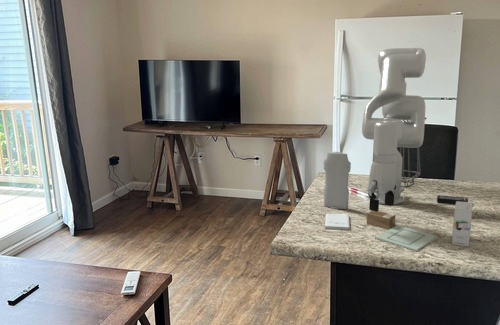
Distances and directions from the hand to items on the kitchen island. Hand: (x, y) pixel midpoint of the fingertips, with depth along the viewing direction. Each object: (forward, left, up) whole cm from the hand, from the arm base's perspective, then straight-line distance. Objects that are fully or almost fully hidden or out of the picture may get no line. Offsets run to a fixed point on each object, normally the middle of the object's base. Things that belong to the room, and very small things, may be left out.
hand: (381, 207), depth 153 cm
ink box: (-6, +25, -7) cm, 26 cm away
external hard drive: (+8, -12, -7) cm, 16 cm away
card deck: (-1, -1, -7) cm, 7 cm away
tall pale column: (-5, -22, -7) cm, 24 cm away
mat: (+4, +12, -7) cm, 14 cm away
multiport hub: (-41, +7, -7) cm, 42 cm away
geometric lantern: (-51, -21, -7) cm, 55 cm away
